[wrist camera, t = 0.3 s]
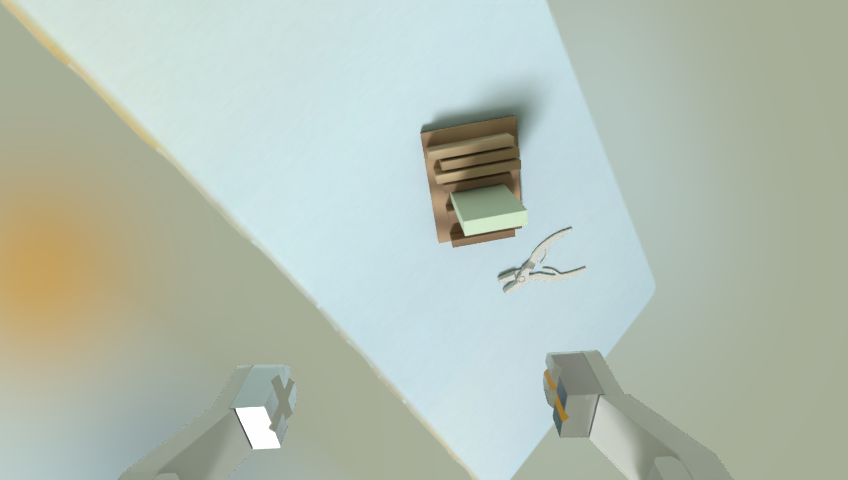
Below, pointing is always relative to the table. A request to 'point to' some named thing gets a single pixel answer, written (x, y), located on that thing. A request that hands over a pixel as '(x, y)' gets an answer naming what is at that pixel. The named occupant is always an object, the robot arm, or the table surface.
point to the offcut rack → (470, 170)
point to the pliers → (523, 273)
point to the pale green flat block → (488, 209)
